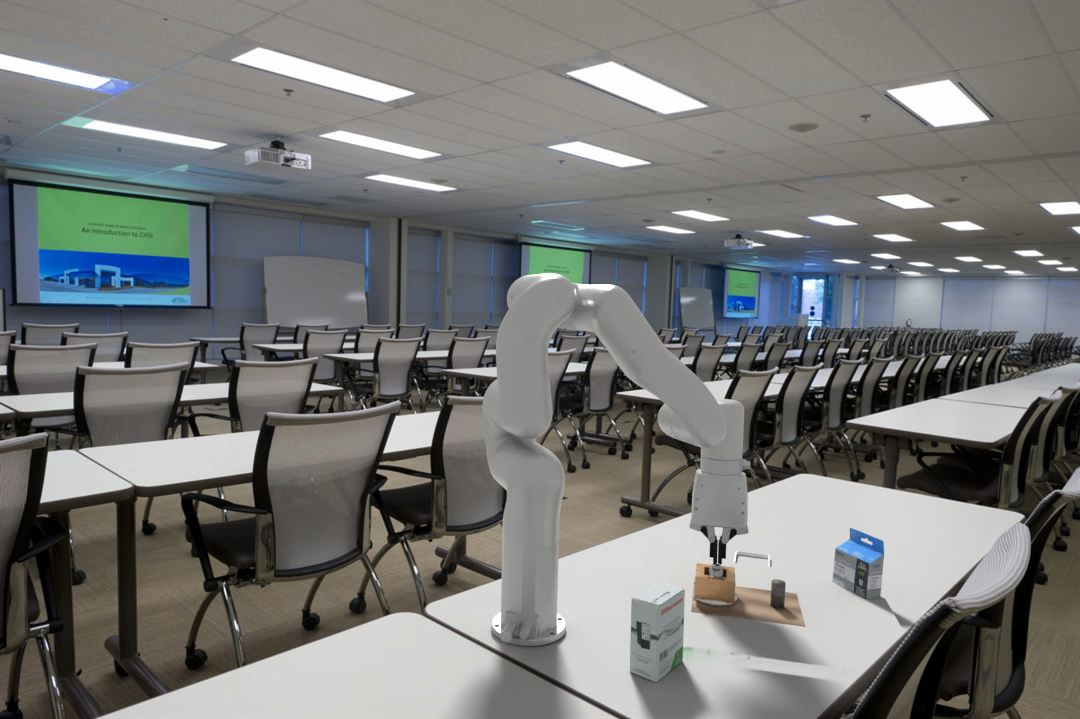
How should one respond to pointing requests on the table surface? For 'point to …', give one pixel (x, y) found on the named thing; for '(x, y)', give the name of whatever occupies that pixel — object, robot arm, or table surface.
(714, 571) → the steel hub
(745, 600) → the walnut board
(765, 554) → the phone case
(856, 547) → the label tape box
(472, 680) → the table surface
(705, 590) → the wooden square washer
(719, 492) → the robot arm
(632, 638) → the ink box
